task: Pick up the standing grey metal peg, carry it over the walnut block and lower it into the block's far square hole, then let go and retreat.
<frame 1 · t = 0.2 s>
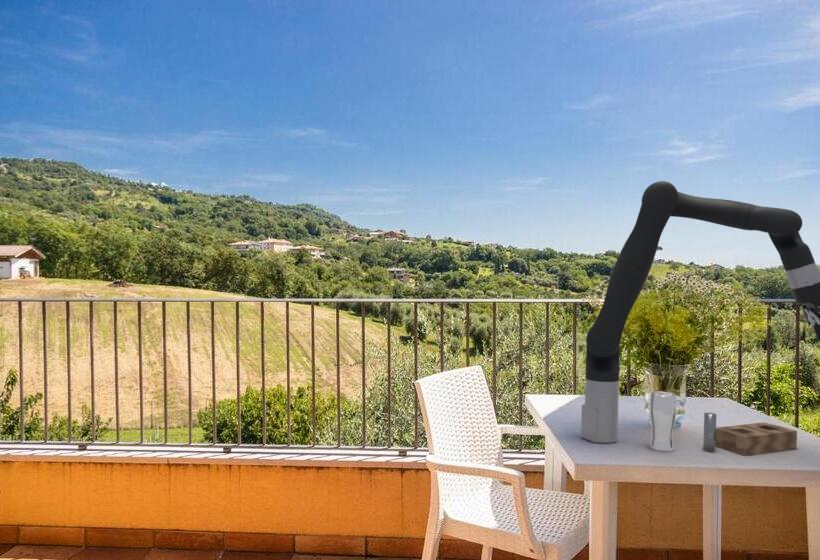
hole block: (754, 447, 175), on the table
peg: (709, 450, 171), on the table
beer glass: (661, 449, 172), on the table
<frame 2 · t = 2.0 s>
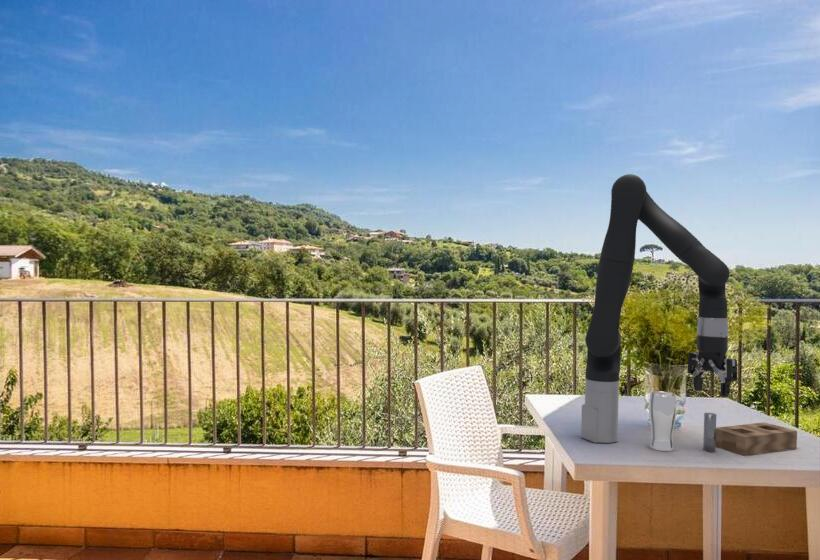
hand: (711, 393, 171), 15 cm above the table, tool pointing down, fingers open, 8 cm apart
nothing on the table moved.
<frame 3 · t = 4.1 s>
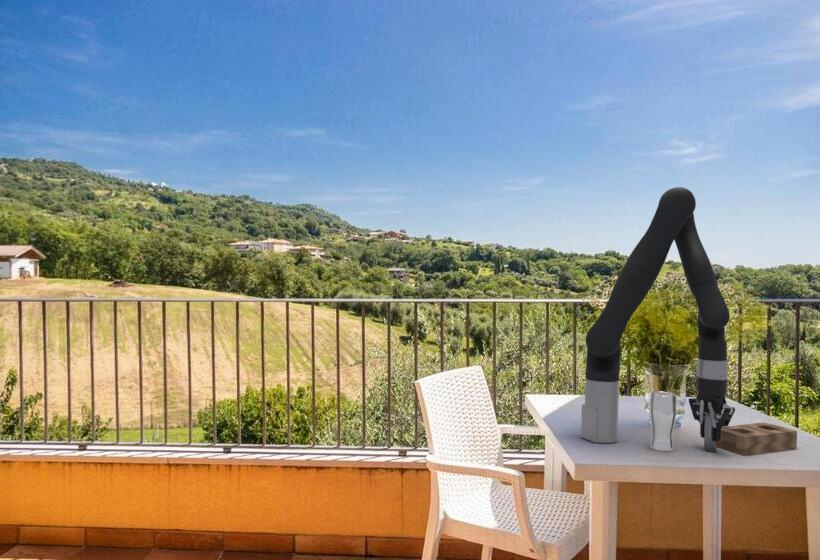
hand: (710, 439, 171), 3 cm above the table, tool pointing down, fingers closed on peg, 3 cm apart
peg: (710, 450, 171), on the table, touching gripper
everything else where it was.
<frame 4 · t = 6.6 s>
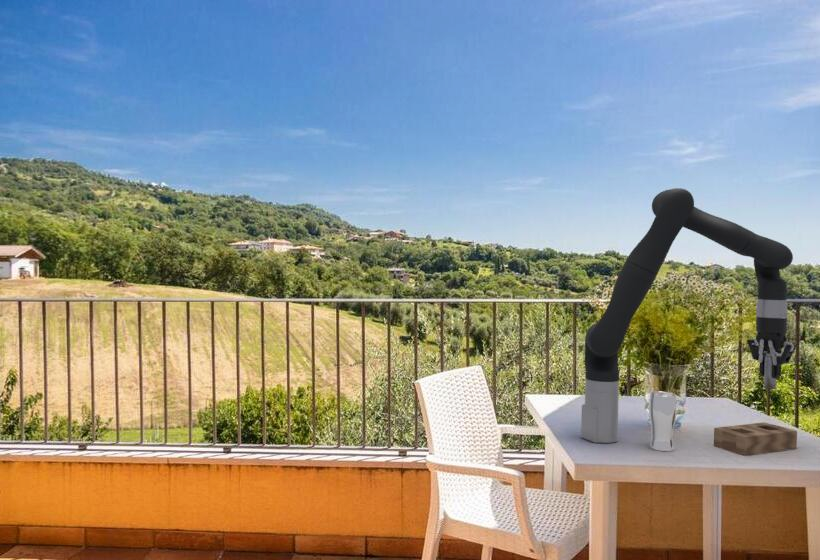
hand: (770, 376, 176), 19 cm above the table, tool pointing down, fingers closed on peg, 3 cm apart
peg: (769, 388, 176), point 16 cm above the table, touching gripper
everything else where it was.
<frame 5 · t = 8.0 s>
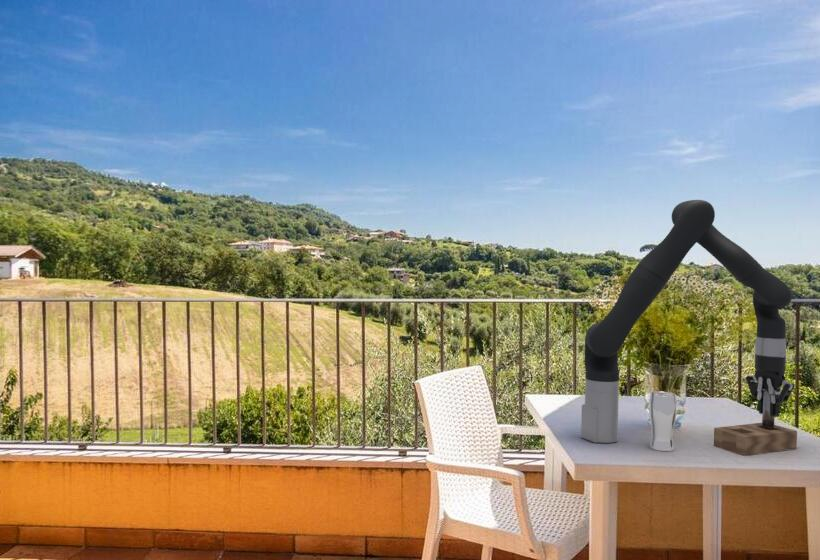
hand: (768, 414, 177), 9 cm above the table, tool pointing down, fingers closed on peg, 3 cm apart
peg: (768, 425, 177), point 6 cm above the table, touching gripper
everything else where it was.
when the fingers open (6 cm above the table, at t = 9.1 s): peg drops 3 cm, resting in hole block.
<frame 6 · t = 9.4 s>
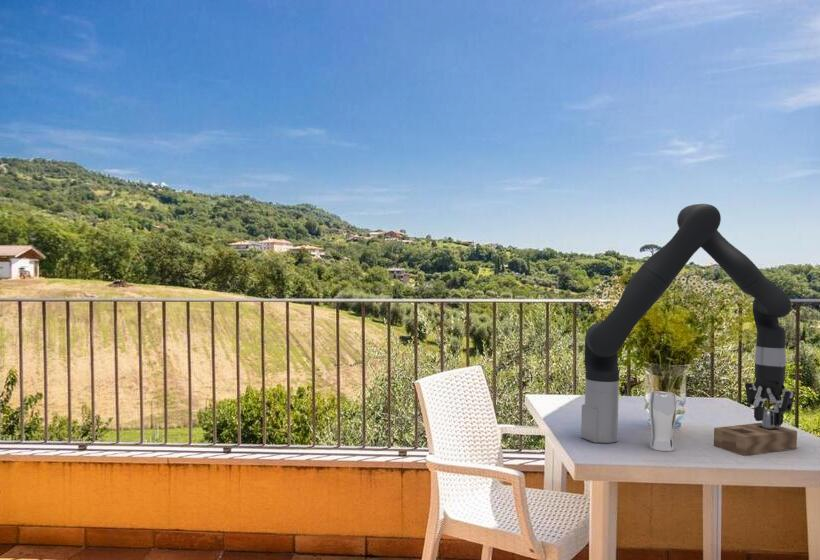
hand: (768, 422, 177), 6 cm above the table, tool pointing down, fingers open, 5 cm apart
peg: (767, 445, 177), resting in hole block
everything else where it was.
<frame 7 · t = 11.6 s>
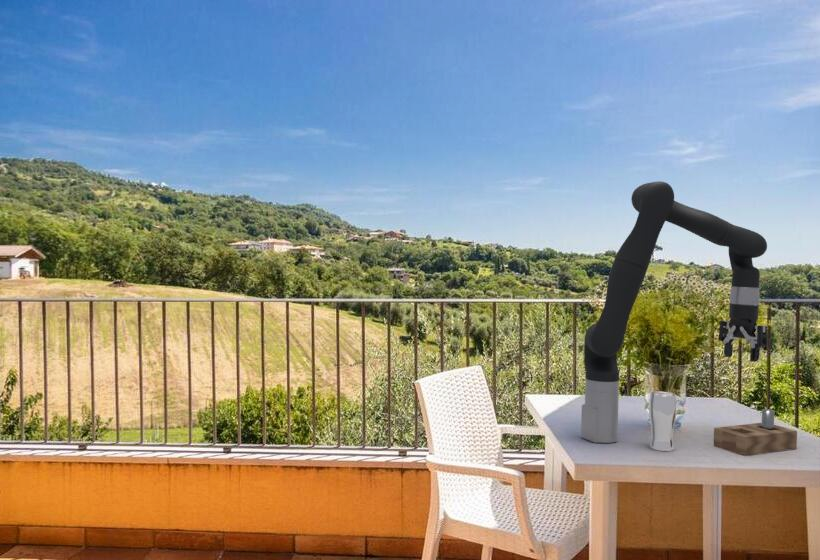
hand: (740, 359, 181), 24 cm above the table, tool pointing down, fingers open, 8 cm apart
nothing on the table moved.
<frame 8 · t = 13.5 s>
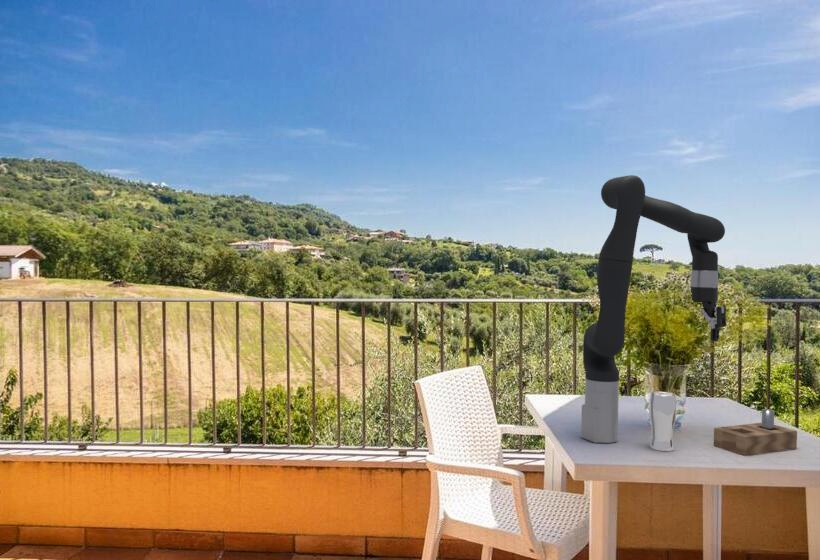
hand: (702, 339, 189), 28 cm above the table, tool pointing down, fingers open, 8 cm apart
nothing on the table moved.
at the end: peg 0.1 cm from the target spot on the hole block, point 0.0 cm above the hole block's base; peg tilted 0°; the gripper is holding nothing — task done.
